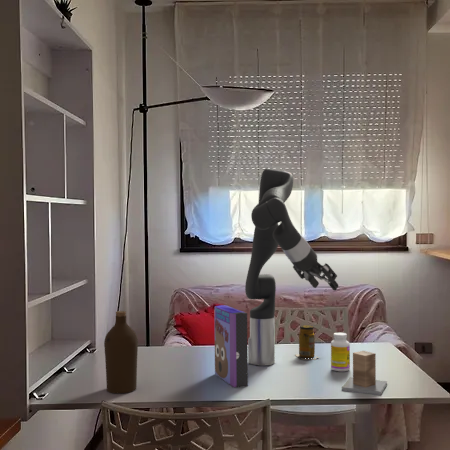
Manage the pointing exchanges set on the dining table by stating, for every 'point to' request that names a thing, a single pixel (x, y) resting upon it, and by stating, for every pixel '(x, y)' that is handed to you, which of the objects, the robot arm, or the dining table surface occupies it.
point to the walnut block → (364, 368)
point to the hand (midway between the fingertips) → (326, 287)
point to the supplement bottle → (340, 353)
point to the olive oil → (121, 356)
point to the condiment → (306, 343)
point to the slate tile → (371, 389)
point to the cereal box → (231, 346)
